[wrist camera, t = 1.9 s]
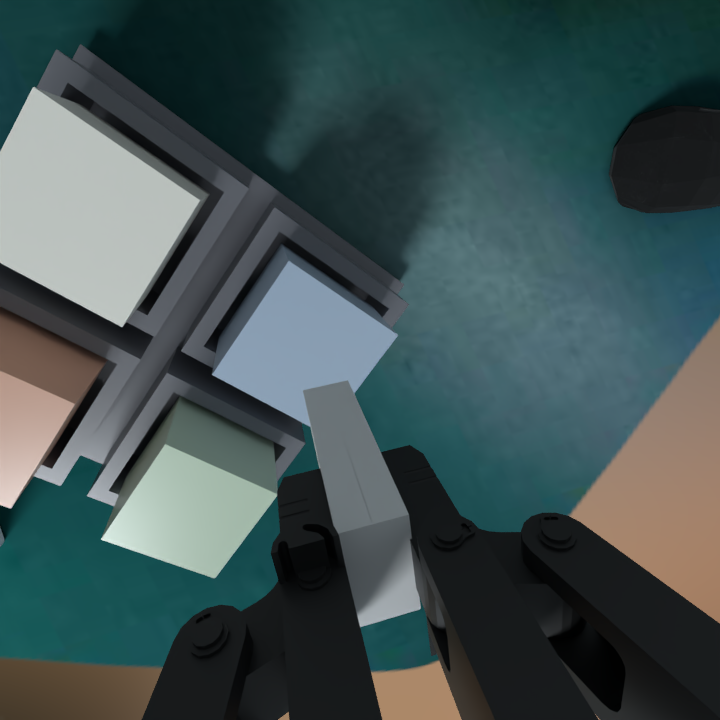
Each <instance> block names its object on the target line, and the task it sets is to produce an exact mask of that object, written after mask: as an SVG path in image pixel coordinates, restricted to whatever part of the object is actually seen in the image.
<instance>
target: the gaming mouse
mask: <svg viewBox="0 0 720 720" xmlns="http://www.w3.org/2000/svg"><path fill="white" fill-rule="evenodd" d="M609 176H610V179H611V182H612V185H613V188H614V191H615V194H616V197H617V200H618V202H619V203H620V204H621V205H622V206H624V207H627V208H631V209H635V210H638V211H640V212H645V213H672V212H681V211H689V210H697V209H705V208H712V207H716V206H720V110H717V109H710V108H704V107H697V106H668V107H665V108H661V109H657V110H654V111H650V112H647V113H643V114H640V115H639V116H638V117H636V118H635V119H634V120H633V122H632V123H631V125H630V126H629V127H628V129H627V130H626V132H625V133H624V135H623V136H622V137H621V139H620V140H619V142H618V143H617V145H616V146H615V148H614V151H613V156H612V161H611V166H610V172H609Z"/></svg>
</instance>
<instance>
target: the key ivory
mask: <svg viewBox="0 0 720 720" xmlns="http://www.w3.org/2000/svg"><path fill="white" fill-rule="evenodd" d="M209 195H210V193H208V192H207V191H205V190H204V189H202V188H201V187H200V186H198V185H197V184H195V183H194V182H192V181H191V180H189V179H188V178H187V177H185V176H184V175H182V174H181V173H179V172H178V171H176V170H175V169H174V168H172V167H171V166H169V165H168V164H166V163H165V162H163V161H162V160H161V159H159V158H158V157H156V156H155V155H153V154H152V153H150V152H149V151H148V150H146V149H145V148H143V147H142V146H140V145H139V144H137V143H136V142H135V141H133V140H132V139H130V138H129V137H127V136H126V135H125V134H123V133H122V132H120V131H119V130H117V129H116V128H114V127H113V126H112V125H110V124H109V123H107V122H106V121H104V120H103V119H101V118H100V117H99V116H97V115H96V114H94V113H93V112H91V111H90V110H88V109H87V108H86V107H84V106H83V105H80V104H78V103H75V102H72V101H70V100H67V99H64V98H62V97H59V96H56V95H54V94H51V93H48V92H46V91H43V90H40V89H38V88H35V87H33V88H32V90H31V92H30V94H29V96H28V98H27V100H26V102H25V104H24V106H23V108H22V110H21V112H20V114H19V116H18V118H17V120H16V122H15V124H14V126H13V128H12V130H11V132H10V134H9V136H8V138H7V139H6V141H5V143H4V145H3V147H2V149H1V151H0V263H1V264H3V265H5V266H7V267H9V268H11V269H13V270H14V271H16V272H18V273H20V274H22V275H24V276H26V277H28V278H30V279H31V280H33V281H35V282H37V283H39V284H41V285H43V286H45V287H47V288H49V289H50V290H52V291H54V292H56V293H58V294H60V295H62V296H64V297H66V298H67V299H69V300H71V301H73V302H75V303H77V304H79V305H81V306H83V307H84V308H86V309H88V310H90V311H92V312H94V313H96V314H98V315H100V316H102V317H103V318H105V319H107V320H109V321H111V322H113V323H115V324H117V325H119V326H120V327H123V326H124V324H125V323H126V322H127V321H128V319H129V318H130V317H131V316H132V314H133V313H134V312H135V311H136V309H137V308H138V307H139V306H140V304H141V303H142V302H143V301H144V299H145V298H146V297H147V295H148V294H149V292H150V291H151V289H152V287H153V286H154V284H155V282H156V281H157V279H158V278H159V276H160V274H161V273H162V271H163V269H164V268H165V266H166V265H167V263H168V261H169V260H170V258H171V256H172V255H173V253H174V252H175V250H176V248H177V247H178V245H179V243H180V242H181V240H182V239H183V237H184V235H185V234H186V232H187V230H188V229H189V227H190V226H191V224H192V222H193V221H194V219H195V218H196V216H197V214H198V213H199V211H200V209H201V208H202V206H203V205H204V203H205V201H206V200H207V198H208V196H209Z"/></svg>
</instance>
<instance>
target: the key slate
mask: <svg viewBox="0 0 720 720" xmlns="http://www.w3.org/2000/svg"><path fill="white" fill-rule="evenodd" d="M397 336H398V335H397V333H396V332H395V331H394V330H393V329H392V328H391V327H390V326H389V324H388V323H387V322H386V321H385V320H384V319H383V318H382V317H381V316H380V314H379V313H378V312H377V311H376V310H375V309H374V308H373V307H372V306H371V305H370V304H368V303H367V302H365V301H364V300H362V299H361V298H360V297H358V296H357V295H355V294H354V293H352V292H351V291H350V290H348V289H347V288H345V287H344V286H342V285H341V284H339V283H338V282H337V281H335V280H334V279H332V278H331V277H329V276H328V275H326V274H325V273H324V272H322V271H321V270H319V269H318V268H316V267H315V266H313V265H312V264H311V263H309V262H308V261H306V260H305V259H303V258H302V257H300V256H299V255H298V254H296V253H295V252H293V251H292V250H290V249H289V248H287V247H286V246H285V245H283V244H282V243H281V244H280V246H279V247H278V249H277V250H276V252H275V253H274V255H273V256H272V258H271V259H270V261H269V262H268V264H267V265H266V267H265V268H264V270H263V271H262V273H261V274H260V276H259V278H258V279H257V281H256V282H255V284H254V285H253V287H252V288H251V290H250V291H249V293H248V294H247V296H246V297H245V299H244V300H243V302H242V303H241V305H240V306H239V308H238V309H237V311H236V312H235V314H234V315H233V317H232V318H231V320H230V321H229V323H228V324H227V326H226V327H225V329H224V330H223V332H222V333H221V335H220V336H219V339H218V344H217V350H216V355H215V361H214V366H213V372H212V375H213V376H215V377H217V378H219V379H221V380H223V381H225V382H226V383H228V384H230V385H232V386H234V387H236V388H238V389H240V390H242V391H243V392H245V393H247V394H249V395H251V396H253V397H255V398H257V399H259V400H260V401H262V402H264V403H266V404H268V405H270V406H272V407H274V408H276V409H278V410H279V411H281V412H283V413H285V414H287V415H289V416H291V417H293V418H295V419H296V420H298V421H300V422H302V423H304V424H306V425H308V426H310V422H309V417H308V412H307V408H306V403H305V398H304V394H303V390H306V389H311V388H315V387H320V386H324V385H329V384H333V383H338V382H342V381H347V380H348V382H349V384H350V386H351V388H352V390H353V393H355V392H356V390H357V389H358V388H359V386H360V385H361V384H362V382H363V381H364V380H365V378H366V377H367V376H368V374H369V373H370V372H371V370H372V369H373V368H374V366H375V365H376V364H377V362H378V361H379V360H380V358H381V357H382V356H383V355H384V353H385V352H386V351H387V349H388V348H389V347H390V345H391V344H392V343H393V341H394V340H395V339H396V337H397ZM310 427H311V426H310Z"/></svg>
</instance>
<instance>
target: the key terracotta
mask: <svg viewBox="0 0 720 720" xmlns="http://www.w3.org/2000/svg"><path fill="white" fill-rule="evenodd" d="M106 362H107V359H105V358H103V357H101V356H99V355H97V354H95V353H93V352H91V351H89V350H87V349H85V348H83V347H81V346H79V345H77V344H75V343H73V342H71V341H69V340H67V339H65V338H63V337H61V336H59V335H57V334H55V333H53V332H51V331H49V330H47V329H45V328H43V327H41V326H39V325H37V324H35V323H33V322H31V321H29V320H27V319H25V318H23V317H21V316H19V315H16V314H14V313H12V312H10V311H8V310H6V309H4V308H2V307H0V505H2V506H4V507H7V508H10V509H11V508H12V506H13V505H14V503H15V502H16V501H17V499H18V498H19V496H20V495H21V493H22V492H23V491H24V489H25V488H26V486H27V485H28V483H29V482H30V481H31V479H32V478H33V476H34V475H35V474H36V472H37V471H38V469H39V468H40V466H41V465H42V464H43V462H44V461H45V459H46V458H47V456H48V455H49V454H50V452H51V451H52V449H53V448H54V446H55V445H56V443H57V441H58V440H59V438H60V437H61V435H62V433H63V432H64V430H65V428H66V427H67V425H68V424H69V422H70V420H71V419H72V417H73V415H74V414H75V412H76V411H77V409H78V407H79V406H80V404H81V402H82V401H83V399H84V398H85V396H86V394H87V393H88V391H89V389H90V388H91V386H92V385H93V383H94V381H95V380H96V378H97V376H98V375H99V373H100V372H101V370H102V368H103V367H104V365H105V364H106Z"/></svg>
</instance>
